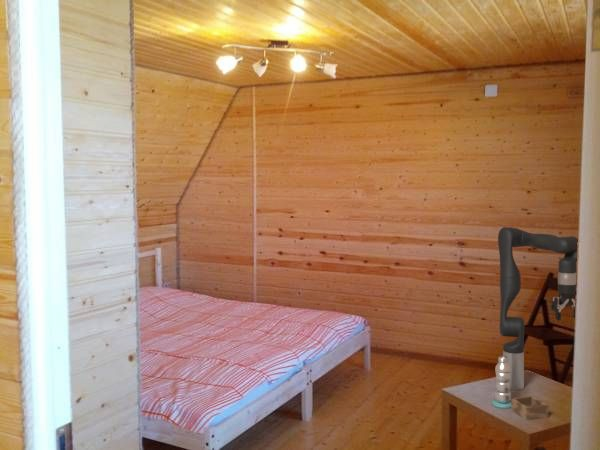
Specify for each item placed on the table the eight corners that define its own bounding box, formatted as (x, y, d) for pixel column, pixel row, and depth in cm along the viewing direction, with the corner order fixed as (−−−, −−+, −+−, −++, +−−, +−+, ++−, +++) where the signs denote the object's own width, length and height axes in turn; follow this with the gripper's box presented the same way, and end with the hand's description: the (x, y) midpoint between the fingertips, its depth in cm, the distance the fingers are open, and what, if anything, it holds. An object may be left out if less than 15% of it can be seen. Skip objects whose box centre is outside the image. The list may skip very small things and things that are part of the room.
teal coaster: (487, 402, 265) (487, 399, 265) (506, 399, 267) (506, 397, 267) (499, 409, 256) (499, 407, 256) (517, 407, 258) (517, 404, 258)
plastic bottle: (491, 400, 263) (491, 355, 262) (504, 398, 266) (504, 353, 264) (501, 405, 257) (501, 359, 256) (514, 403, 260) (514, 357, 258)
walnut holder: (511, 410, 255) (511, 398, 255) (532, 407, 257) (532, 396, 257) (526, 420, 244) (526, 408, 244) (548, 417, 247) (548, 405, 246)
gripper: (575, 280, 265) (575, 316, 267) (547, 282, 262) (547, 319, 263) (587, 282, 258) (587, 320, 259) (558, 285, 255) (558, 322, 256)
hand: (567, 319), depth 261 cm, fingers open, 8 cm apart
